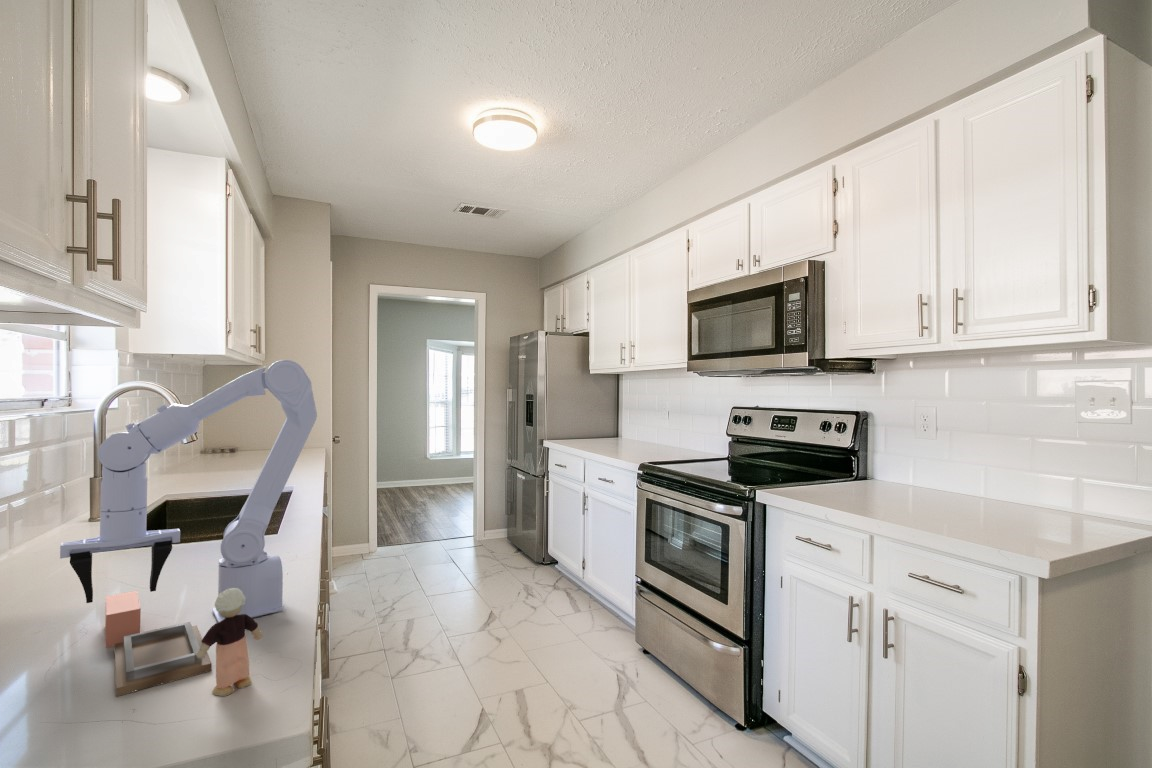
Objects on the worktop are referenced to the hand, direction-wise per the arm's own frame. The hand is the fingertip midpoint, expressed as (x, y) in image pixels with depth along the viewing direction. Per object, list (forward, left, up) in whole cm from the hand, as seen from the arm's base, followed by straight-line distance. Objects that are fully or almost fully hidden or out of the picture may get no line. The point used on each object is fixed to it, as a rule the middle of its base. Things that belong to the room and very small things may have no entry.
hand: (122, 595), depth 87 cm
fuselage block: (0, 0, -6) cm, 6 cm away
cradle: (-4, +15, -6) cm, 17 cm away
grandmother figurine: (-10, +30, -6) cm, 32 cm away
